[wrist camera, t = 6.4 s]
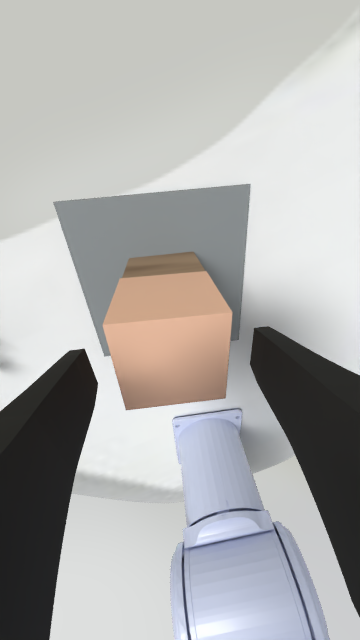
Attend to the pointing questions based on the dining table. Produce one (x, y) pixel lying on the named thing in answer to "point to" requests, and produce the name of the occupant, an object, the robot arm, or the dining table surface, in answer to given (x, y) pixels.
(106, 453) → the dining table surface
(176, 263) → the walnut block
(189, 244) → the mat
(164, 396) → the terracotta block
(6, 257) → the dining table surface
